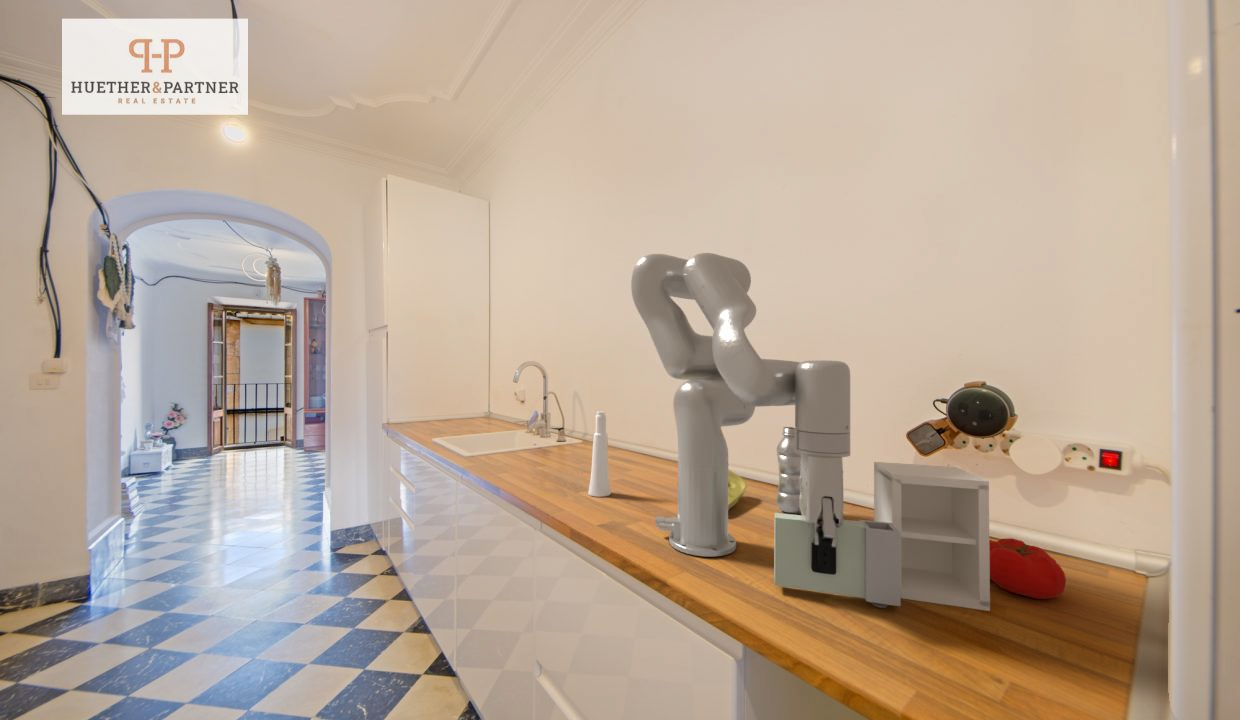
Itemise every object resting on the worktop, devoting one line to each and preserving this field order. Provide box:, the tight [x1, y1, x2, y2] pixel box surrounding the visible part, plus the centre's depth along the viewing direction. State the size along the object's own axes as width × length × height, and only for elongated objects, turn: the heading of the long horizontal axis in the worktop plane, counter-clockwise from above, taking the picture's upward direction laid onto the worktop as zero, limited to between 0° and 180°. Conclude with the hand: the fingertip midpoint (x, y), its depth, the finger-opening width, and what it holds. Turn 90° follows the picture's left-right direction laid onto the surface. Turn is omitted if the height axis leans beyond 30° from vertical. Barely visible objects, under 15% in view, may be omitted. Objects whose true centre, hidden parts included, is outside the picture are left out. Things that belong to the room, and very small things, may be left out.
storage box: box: [773, 512, 902, 607], centre depth 64 cm, size 16×4×10 cm, turn 73°
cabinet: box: [870, 461, 991, 612], centre depth 66 cm, size 16×14×18 cm
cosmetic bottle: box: [587, 410, 612, 498], centre depth 117 cm, size 6×6×22 cm
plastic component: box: [728, 468, 748, 511], centre depth 110 cm, size 20×7×10 cm
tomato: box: [989, 537, 1067, 600], centre depth 68 cm, size 10×11×6 cm
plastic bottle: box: [775, 426, 802, 514], centre depth 104 cm, size 6×7×20 cm
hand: (821, 566), depth 65 cm, fingers closed on storage box, 2 cm apart
